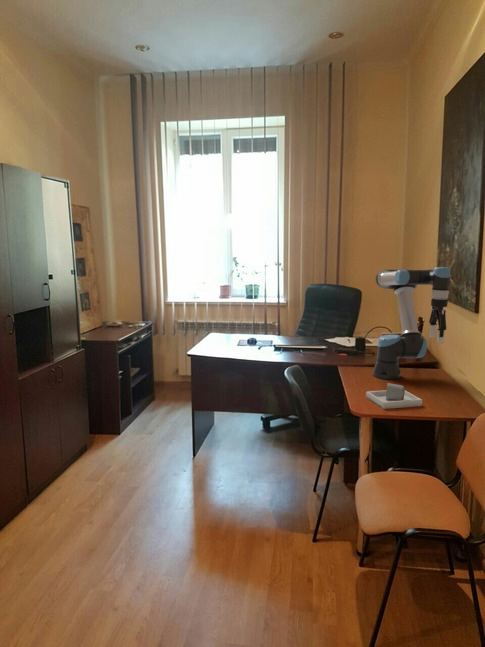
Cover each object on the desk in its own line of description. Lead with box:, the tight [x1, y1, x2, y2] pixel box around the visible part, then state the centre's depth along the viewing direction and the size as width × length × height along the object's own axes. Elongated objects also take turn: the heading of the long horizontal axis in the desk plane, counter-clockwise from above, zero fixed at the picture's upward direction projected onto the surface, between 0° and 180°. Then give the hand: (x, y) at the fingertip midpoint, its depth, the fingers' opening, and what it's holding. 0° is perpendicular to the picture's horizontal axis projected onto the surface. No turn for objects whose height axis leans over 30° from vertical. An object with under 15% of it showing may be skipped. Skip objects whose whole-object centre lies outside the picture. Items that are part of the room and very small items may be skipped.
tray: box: [365, 389, 423, 410], centre depth 221 cm, size 16×20×3 cm
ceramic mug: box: [385, 382, 406, 401], centre depth 221 cm, size 11×8×8 cm
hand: (435, 340), depth 232 cm, fingers open, 13 cm apart
